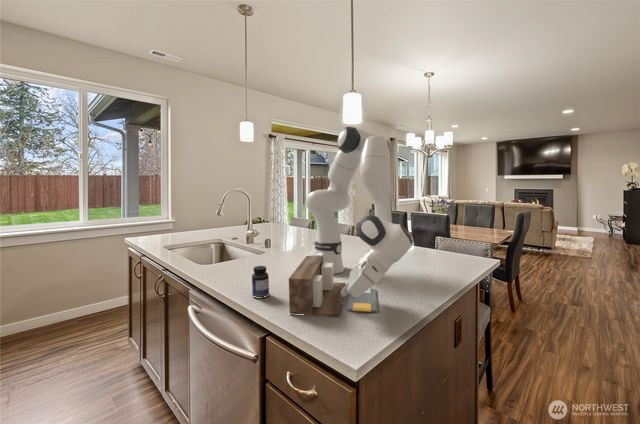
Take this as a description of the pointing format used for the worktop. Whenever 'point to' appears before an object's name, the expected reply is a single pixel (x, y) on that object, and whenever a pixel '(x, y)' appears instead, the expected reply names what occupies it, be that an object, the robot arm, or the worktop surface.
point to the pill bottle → (260, 282)
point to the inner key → (327, 276)
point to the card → (363, 302)
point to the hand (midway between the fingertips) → (342, 294)
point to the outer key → (317, 291)
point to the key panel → (304, 291)
